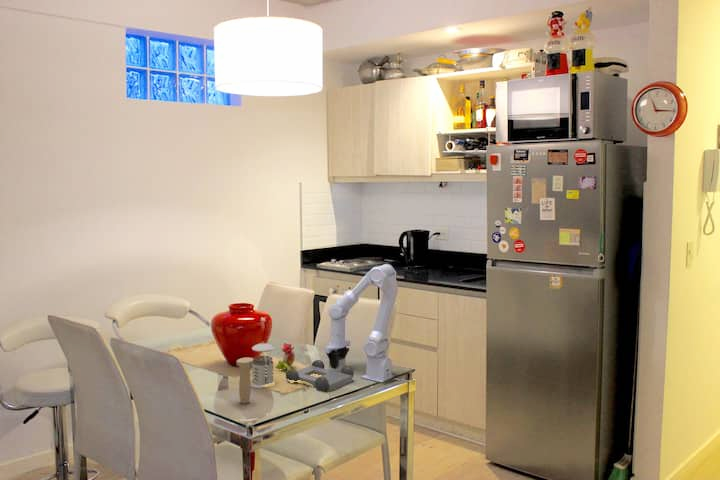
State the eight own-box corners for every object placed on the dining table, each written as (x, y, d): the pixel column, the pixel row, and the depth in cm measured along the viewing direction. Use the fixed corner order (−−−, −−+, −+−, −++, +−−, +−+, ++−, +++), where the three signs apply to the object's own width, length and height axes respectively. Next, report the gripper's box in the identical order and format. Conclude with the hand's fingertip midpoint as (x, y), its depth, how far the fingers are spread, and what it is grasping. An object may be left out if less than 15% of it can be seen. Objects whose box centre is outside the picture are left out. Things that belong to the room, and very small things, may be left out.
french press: (271, 378, 270) (271, 314, 267) (281, 387, 259) (281, 321, 256) (246, 381, 266) (246, 316, 263) (255, 390, 255) (255, 323, 252)
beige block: (345, 370, 282) (345, 358, 281) (339, 372, 279) (339, 360, 278) (335, 367, 285) (335, 355, 284) (329, 370, 281) (329, 358, 281)
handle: (256, 400, 245) (256, 358, 243) (245, 406, 239) (245, 363, 238) (244, 398, 247) (244, 356, 245) (233, 404, 241) (233, 361, 240)
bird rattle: (282, 372, 284) (272, 369, 276) (287, 344, 287) (278, 341, 279) (296, 374, 282) (286, 371, 274) (301, 346, 285) (292, 343, 277)
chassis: (354, 380, 269) (354, 368, 268) (326, 392, 255) (327, 379, 254) (313, 370, 280) (313, 358, 280) (284, 381, 266) (284, 368, 266)
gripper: (340, 328, 288) (339, 360, 290) (318, 335, 276) (317, 369, 278) (354, 331, 284) (354, 364, 286) (333, 338, 272) (332, 372, 274)
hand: (337, 366), depth 281 cm, fingers closed on beige block, 4 cm apart
